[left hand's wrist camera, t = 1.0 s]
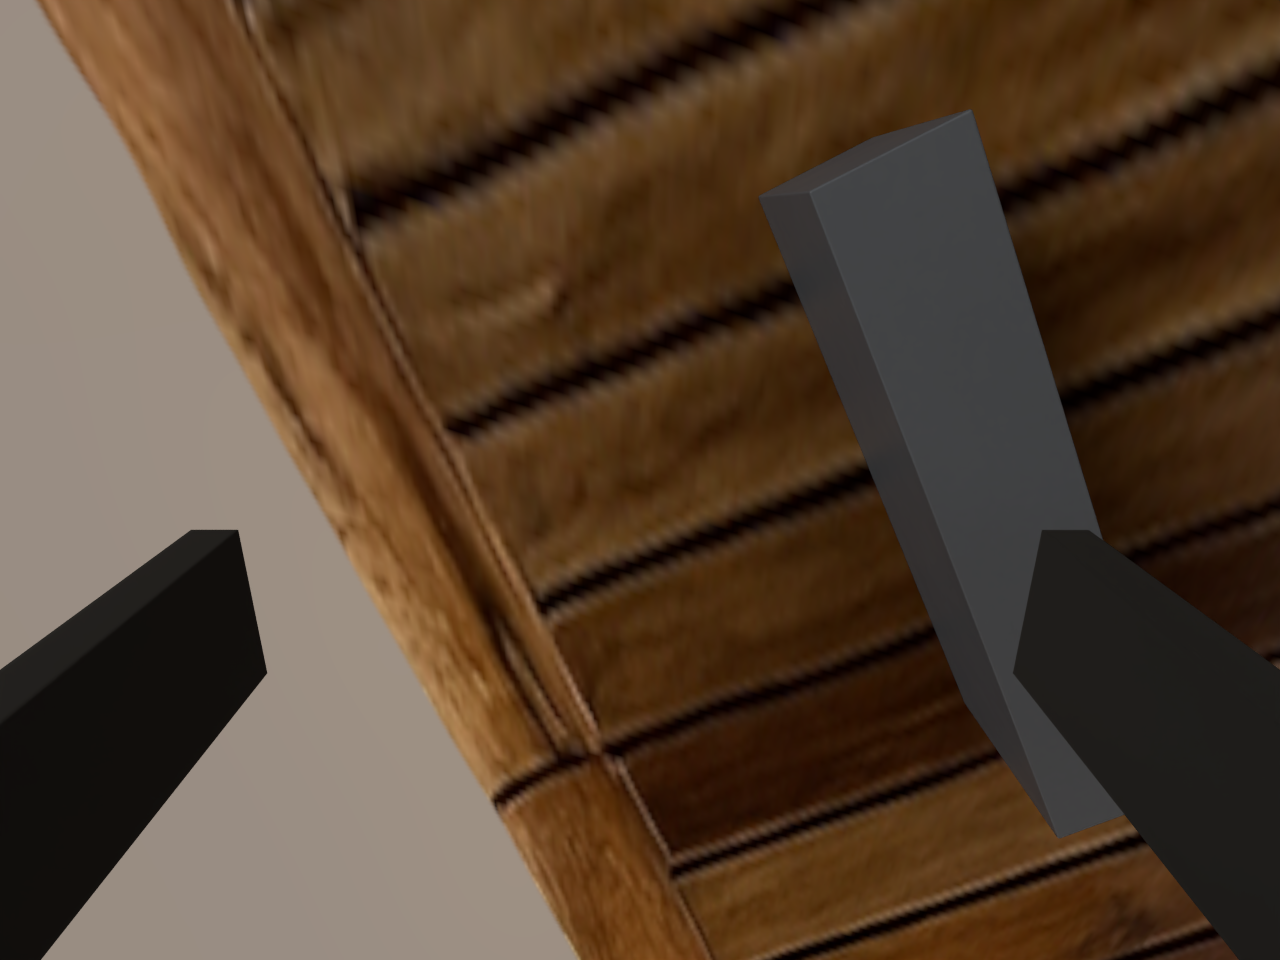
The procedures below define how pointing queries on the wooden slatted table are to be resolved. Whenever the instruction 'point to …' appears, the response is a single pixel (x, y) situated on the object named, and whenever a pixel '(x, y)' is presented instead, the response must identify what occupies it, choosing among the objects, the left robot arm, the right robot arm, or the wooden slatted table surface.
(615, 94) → the wooden slatted table surface
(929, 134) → the bar
